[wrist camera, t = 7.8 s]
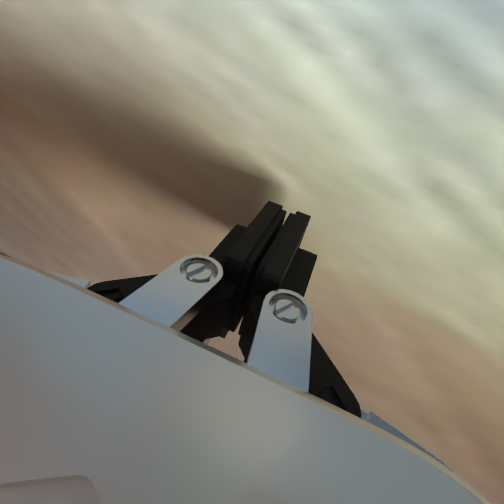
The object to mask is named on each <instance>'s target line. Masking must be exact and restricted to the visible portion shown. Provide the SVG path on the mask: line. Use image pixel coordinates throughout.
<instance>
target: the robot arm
mask: <svg viewBox="0 0 504 504" xmlns="http://www.w3.org/2000/svg"><path fill="white" fill-rule="evenodd" d="M285 215H286V211H284V210H282V205H279V204H276V203H274V202H271V201H268V202H267V204H266V205H265V206H264V207H263V209H262V210H261V211H260V212H259V214H258V215H257V216H256V217H255V219H254V220H253V221H252V222H251V224H250V225H249V226H248V227H247V228H246V227H244V226H241V225H238V224H237V225H236V226H235V227H234V228H233V229H232V230H231V231H230V232H229V234H228V235H227V236H226V237H225V238H224V239H223V240H222V242H221V243H220V244H219V245H218V246H217V247H216V248H215V250H214V251H213V252H212V253H211V254H210V255H209V256H206V255H200V254H193V255H188V256H185V257H183V258H181V259H179V260H178V261H177V262H175V263H174V264H172V265H171V266H170V267H168V268H167V269H165V270H164V271H163V272H161V273H160V274H157V275H150V276H142V277H135V278H127V279H119V280H112V281H105V282H100V283H96V284H94V285H90V281H87V280H83V279H78V278H74V277H70V276H66V275H61V274H57V273H53V272H48V271H45V270H43V269H40V268H38V267H35V266H33V265H30V264H28V263H25V262H22V261H20V260H17V259H14V258H11V257H8V256H5V255H1V254H0V504H491V503H490V502H489V501H488V500H487V499H486V498H484V497H483V496H482V495H481V494H480V493H479V492H478V491H476V490H475V489H474V488H473V487H472V486H471V485H470V484H468V483H467V482H466V481H465V480H463V479H462V478H461V477H459V476H458V475H457V474H455V473H454V472H453V470H452V469H450V468H449V467H448V466H447V465H446V464H445V463H444V462H443V461H441V460H440V459H438V458H437V457H435V456H434V455H433V454H431V453H430V452H428V451H427V450H426V449H424V448H423V447H421V446H420V445H418V444H417V443H416V442H414V441H413V440H411V439H410V438H408V437H407V436H406V435H404V434H403V433H401V432H400V431H399V430H397V429H396V428H394V427H393V426H391V425H390V424H389V423H387V422H386V421H384V420H383V419H381V418H380V417H379V416H377V415H376V414H374V413H373V412H372V411H371V412H370V413H369V414H367V413H366V412H364V411H363V410H362V409H360V406H359V403H358V401H357V399H356V398H355V396H354V394H353V393H352V391H351V390H350V388H349V387H348V385H347V384H346V382H345V381H344V379H343V378H342V376H341V375H340V373H339V372H338V370H337V369H336V367H335V366H334V364H333V363H332V361H331V360H330V358H329V357H328V355H327V354H326V352H325V351H324V349H323V348H322V346H321V345H320V343H319V342H318V340H317V339H316V337H315V336H314V334H313V333H312V322H313V312H312V308H311V306H310V304H309V302H308V301H307V300H306V299H305V298H304V295H305V292H306V289H307V286H308V283H309V280H310V277H311V274H312V271H313V268H314V265H315V262H316V259H317V255H316V254H313V253H311V252H308V251H305V250H303V249H300V248H299V247H300V244H301V241H302V239H303V236H304V233H305V231H306V228H307V225H308V223H309V220H310V217H311V216H309V215H306V214H304V213H301V212H298V211H297V212H296V214H292V213H290V214H289V216H288V218H287V219H286V221H285V223H284V224H283V222H284V218H285ZM282 225H283V226H282ZM242 317H243V319H242ZM241 319H242V322H241V326H240V329H239V333H238V334H239V335H241V337H240V340H239V343H238V344H239V347H240V349H241V351H242V353H243V356H244V361H243V362H242V361H240V360H238V359H236V358H234V357H232V356H230V355H228V354H225V353H223V352H221V351H219V350H217V349H215V348H213V347H211V346H208V343H209V341H210V338H213V337H218V336H220V337H222V338H225V336H226V335H227V333H228V331H229V330H230V331H232V332H234V331H235V330H236V328H237V326H238V324H239V322H240V321H241Z"/></svg>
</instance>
